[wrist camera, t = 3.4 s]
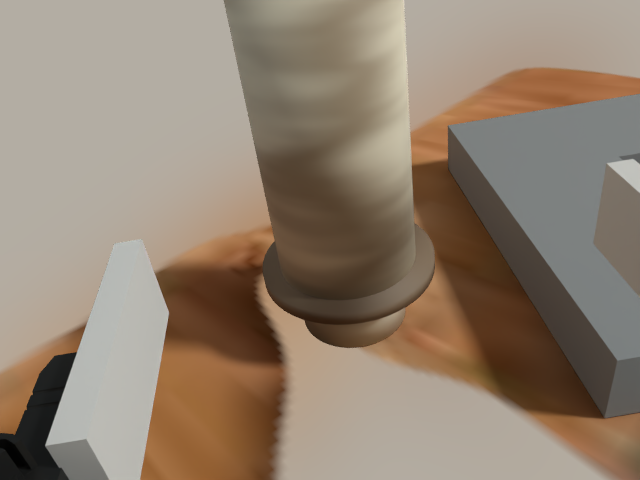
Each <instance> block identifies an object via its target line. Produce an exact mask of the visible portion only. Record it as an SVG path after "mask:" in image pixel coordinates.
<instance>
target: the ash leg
mask: <svg viewBox="0 0 640 480" xmlns="http://www.w3.org/2000/svg"><path fill="white" fill-rule="evenodd" d="M224 3H225V8H226V13H227V18H228V22H229V27H230V32H231V36H232V41H233V46H234V51H235V55H236V60H237V64H238V69H239V74H240V79H241V84H242V88H243V93H244V98H245V102H246V107H247V111H248V117H249V121H250V126H251V131H252V135H253V140H254V145H255V149H256V154H257V159H258V164H259V168H260V173H261V178H262V183H263V187H264V192H265V197H266V201H267V206H268V211H269V216H270V220H271V225H272V230H273V234H274V239H275V241H274V243H273V244H272V245H271V246H270V248H269V249H268V251H267V253H266V255H265V258H264V261H263V276H264V280H265V284H266V288H267V290H268V293H269V295H270V297H271V298H272V299H273V301H274V302H275V303H276V304H277V305H278V306H279V307H281V308H282V309H283V310H284V311H286V312H288V313H290V314H291V315H294V316H296V317H298V318H301V319H303V320H305V323H306V326H307V328H308V329H309V331H310V332H311V334H312V335H313V336H315V337H316V338H317V339H319V340H320V341H322V342H324V343H327V344H329V345H333V346H338V347H345V348H356V347H364V346H368V345H372V344H375V343H377V342H380V341H382V340H384V339H386V338H387V337H389V336H390V335H392V334H393V333H394V332H395V331H396V330H397V329H398V328H399V326H400V325H401V323H402V322H403V319H404V316H405V307H407V306H408V305H410V304H411V303H413V302H414V301H415V300H416V299H417V298H419V297H420V296H421V295H422V294H423V292H424V291H425V290H426V289H427V287H428V286H429V284H430V282H431V280H432V278H433V274H434V269H435V254H434V247H433V244H432V241H431V239H430V238H429V236H428V235H427V234H426V232H425V231H424V230H423V229H422V228H420V227H419V226H418V225H417V224H415V223H414V206H413V184H412V163H411V141H410V120H409V98H408V77H407V54H406V34H405V33H406V32H405V13H404V12H405V11H404V0H224Z"/></svg>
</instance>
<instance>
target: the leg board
mask: <svg viewBox="0 0 640 480" xmlns="http://www.w3.org/2000/svg"><path fill="white" fill-rule="evenodd" d="M629 159H634V160H635V161H637V162H638V163H639V164H640V94H636V95H630V96H624V97H618V98H612V99H606V100H600V101H594V102H588V103H582V104H576V105H570V106H564V107H558V108H552V109H545V110H539V111H533V112H527V113H521V114H515V115H509V116H503V117H497V118H491V119H485V120H479V121H473V122H467V123H461V124H455V125H449V126H448V169H449V171H450V172H451V174H452V175H453V177H454V179H455V180H456V182H457V183H458V185H459V187H460V188H461V190H462V191H463V193H464V195H465V196H466V198H467V199H468V201H469V203H470V204H471V206H472V207H473V209H474V211H475V212H476V214H477V215H478V217H479V219H480V220H481V222H482V223H483V225H484V227H485V228H486V230H487V231H488V233H489V235H490V236H491V238H492V239H493V241H494V243H495V244H496V246H497V247H498V249H499V251H500V252H501V254H502V255H503V257H504V258H505V260H506V262H507V263H508V265H509V266H510V268H511V270H512V271H513V273H514V274H515V276H516V278H517V279H518V281H519V282H520V284H521V286H522V287H523V289H524V290H525V292H526V294H527V295H528V297H529V298H530V300H531V302H532V303H533V305H534V306H535V308H536V310H537V311H538V313H539V314H540V316H541V318H542V319H543V321H544V322H545V324H546V326H547V327H548V329H549V330H550V332H551V334H552V335H553V337H554V338H555V340H556V342H557V343H558V345H559V346H560V348H561V350H562V351H563V353H564V354H565V356H566V358H567V359H568V361H569V362H570V364H571V365H572V367H573V369H574V370H575V372H576V373H577V375H578V377H579V378H580V380H581V381H582V383H583V385H584V386H585V388H586V389H587V391H588V393H589V394H590V396H591V397H592V399H593V401H594V402H595V404H596V405H597V407H598V409H599V410H600V412H601V413H602V415H603V417H604V418H609V417H615V416H621V415H626V414H632V413H638V412H640V297H639V296H638V295H637V294H636V293H635V291H634V290H633V289H632V288H631V287H630V286H629V284H628V283H627V282H626V281H625V280H624V279H623V277H622V276H621V275H620V274H619V273H618V272H617V270H616V269H615V268H614V267H613V266H612V265H611V264H610V262H609V261H608V260H607V259H606V258H605V257H604V255H603V254H602V253H601V252H600V251H599V250H598V248H597V247H596V246H595V245H594V244H593V241H594V235H595V229H596V223H597V217H598V211H599V205H600V199H601V193H602V187H603V181H604V175H605V169H606V163H611V162H617V161H623V160H629Z"/></svg>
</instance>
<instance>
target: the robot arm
mask: <svg viewBox="0 0 640 480" xmlns="http://www.w3.org/2000/svg"><path fill="white" fill-rule="evenodd" d="M593 244H594V245H595V246H596V247H597V248H598V250H599V251H600V252H601V253H602V254H603V255H604V257H605V258H606V259H607V260H608V261H609V262H610V264H611V265H612V266H613V267H614V268H615V269H616V270H617V272H618V273H619V274H620V275H621V276H622V277H623V279H624V280H625V281H626V282H627V283H628V284H629V286H630V287H631V288H632V289H633V290H634V291H635V293H636V294H637V295H638V296H639V297H640V164H639V163H638V162H637V161H635V160H634V159H629V160H623V161H617V162H611V163H606V169H605V175H604V181H603V187H602V193H601V199H600V205H599V211H598V217H597V223H596V229H595V235H594V241H593ZM168 317H169V311H168V309H167V306H166V303H165V300H164V298H163V295H162V292H161V290H160V287H159V284H158V281H157V279H156V276H155V273H154V271H153V268H152V265H151V263H150V260H149V257H148V254H147V252H146V249H145V246H144V243H143V241H142V239H139V240H133V241H127V242H121V243H115V244H114V247H113V250H112V253H111V256H110V258H109V261H108V264H107V267H106V270H105V273H104V276H103V279H102V282H101V285H100V287H99V290H98V293H97V296H96V299H95V302H94V305H93V308H92V311H91V314H90V317H89V319H88V322H87V325H86V328H85V331H84V334H83V337H82V340H81V343H80V346H79V349H78V351H77V352H75V353H69V354H63V355H57V356H54V357H53V359H52V360H51V361H50V362H49V363H48V364H47V366H46V367H45V368H44V369H43V370H42V371H41V373H40V374H39V377H38V379H37V382H36V384H35V387H34V389H33V395H31V397H30V399H29V402H28V404H27V410H25V412H24V414H23V417H22V419H21V422H20V424H19V427H18V429H17V432H16V434H15V435H13V434H5V433H0V480H140V476H141V470H142V465H143V459H144V453H145V448H146V442H147V436H148V431H149V425H150V419H151V413H152V408H153V402H154V396H155V391H156V385H157V379H158V374H159V368H160V362H161V356H162V351H163V345H164V339H165V334H166V328H167V322H168Z"/></svg>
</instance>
